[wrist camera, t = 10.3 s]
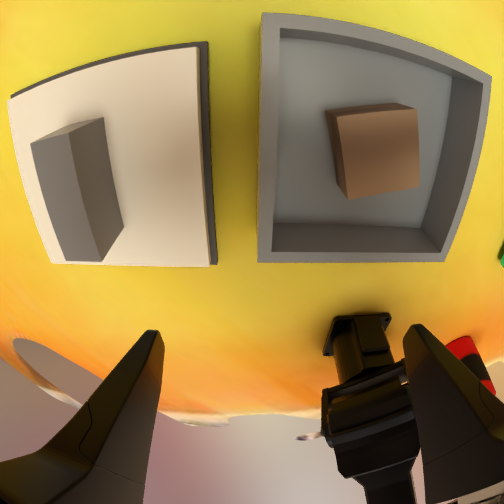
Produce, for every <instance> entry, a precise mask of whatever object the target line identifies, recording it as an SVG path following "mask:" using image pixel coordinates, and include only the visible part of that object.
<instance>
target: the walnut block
mask: <svg viewBox="0 0 504 504" xmlns="http://www.w3.org/2000/svg"><path fill="white" fill-rule="evenodd" d="M325 113H326V118H327V124H328V129H329V135H330V141H331V147H332V153H333V160H334V167H335V174H336V181H337V185H338V186H339V188H340V189H341V191H342V192H343V194H344V195H345V197H346V198H347V200H350V199H356V198H361V197H366V196H371V195H377V194H382V193H388V192H393V191H399V190H405V189H410V188H416V187H419V178H420V160H419V131H418V117H417V109H415V108H412V107H409V106H406V105H403V104H400V103H386V104H374V105H364V106H355V107H346V108H339V109H332V110H325Z"/></svg>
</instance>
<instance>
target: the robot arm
mask: <svg viewBox="0 0 504 504" xmlns="http://www.w3.org/2000/svg"><path fill="white" fill-rule="evenodd" d="M390 321H391V315H390V314H375V315H361V316H344V317H336V318H335V319H334V320H333V323H332V326H331V329H330V332H329V335H328V338H327V340H326V343H325V346H324V349H323V355H324V356H334V359H335V363H336V368H337V373H338V378H339V383H340V385H337V386H334V387H331V388H325V389H323V390H322V398H321V401H322V408H321V421H322V422H321V435H322V436H324V437H325V438H326V441H327V443H328V445H329V446H330V447H331V448H334V451H335V455H336V460H337V466H338V471H339V472H340V473H341V475H343V477H344V478H346V479H347V478H351V477H352V478H353V479H355V480H356V481H357V482H358V483H359V484H361V485H362V486H363V487H364V491H365V496H366V501H367V504H417V499H416V493H415V487H414V482H413V477H412V471H411V469H412V467H413V464H414V462H415V459H416V457H417V456H418V454H419V450H420V447H421V454H422V462H423V473H424V485H425V501H426V504H437V503H441V502H444V501H448V500H452V499H455V498H457V499H456V500H454V501H452V502H450V503H448V504H504V404H503V403H502V402H501V401H500V400H499V399H498V398H497V397H496V396H495V395H494V394H493V393H492V392H491V391H490V390H489V389H488V388H487V387H486V386H485V385H484V384H483V383H482V382H481V381H479V379H478V378H477V377H476V376H475V375H474V374H473V373H472V372H471V371H470V370H469V369H468V368H467V367H466V366H465V365H464V364H463V363H462V362H461V361H460V360H459V359H458V358H457V357H456V356H455V355H454V354H453V353H452V352H451V351H450V350H449V349H448V348H447V347H446V346H445V345H443V344H442V343H441V342H440V341H439V340H438V339H437V338H436V337H435V336H434V335H433V334H432V333H431V332H430V331H429V330H428V329H426V328H425V327H424V326H423V325H422V324H413V325H411V326H410V328H409V329H408V331H407V333H406V334H405V336H404V338H403V349H404V355H405V358H403V359H401V361H398V362H396V363H395V362H394V359H393V356H392V353H391V350H390V345H389V342H388V340H387V337H386V334H385V330H386V328H387V326H388V325H389V323H390ZM164 352H165V346H164V342H163V340H162V337H161V335H160V332H159V331H158V330H147V331H145V333H144V334H143V335H142V336H141V337H140V338H139V340H138V341H137V342H136V343H135V344H134V345H133V346H132V348H131V349H130V350H129V351H128V352H127V353H126V355H125V356H124V357H123V358H122V359H121V361H120V362H119V363H118V364H117V365H116V366H115V368H114V369H113V370H112V371H111V372H110V374H109V375H108V376H107V377H106V378H105V380H104V381H103V382H102V383H101V384H100V385H99V387H98V388H97V389H96V390H95V392H94V393H93V394H92V395H91V396H90V398H89V399H88V401H86V402H85V404H84V405H83V406H82V407H81V408H80V410H79V411H78V412H77V413H76V414H75V415H74V417H73V418H72V419H71V420H70V421H69V422H68V423H67V424H66V425H65V426H64V427H63V428H62V429H61V430H60V431H59V432H58V433H57V434H56V435H55V436H54V437H53V438H52V439H51V440H50V441H49V442H48V443H47V444H46V445H44V446H43V447H42V448H41V449H39V450H38V451H36V452H34V453H31V454H28V455H25V456H22V457H18V458H14V459H11V460H7V461H3V462H0V504H143V496H144V489H145V485H144V484H145V480H146V473H147V466H148V459H149V453H150V446H151V441H152V434H153V429H154V424H155V418H156V413H157V407H158V402H159V397H160V392H161V384H162V373H163V362H164ZM406 381H407V383H405V384H403V385H401V384H402V383H404V382H406Z"/></svg>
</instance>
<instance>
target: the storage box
mask: <svg viewBox="0 0 504 504" xmlns="http://www.w3.org/2000/svg"><path fill="white" fill-rule="evenodd" d="M491 81H492V76H490V75H488V74H487V73H485V72H483V71H481V70H479V69H478V68H476V67H474V66H472V65H470V64H468V63H466V62H464V61H462V60H460V59H458V58H456V57H453V56H451V55H449V54H447V53H445V52H442V51H440V50H438V49H435V48H433V47H430V46H428V45H425V44H422V43H420V42H417V41H414V40H411V39H408V38H405V37H402V36H399V35H396V34H393V33H390V32H386V31H383V30H379V29H375V28H371V27H367V26H363V25H359V24H354V23H349V22H344V21H339V20H333V19H327V18H321V17H313V16H305V15H296V14H283V13H262V17H261V22H260V53H259V123H258V181H257V260H258V262H260V263H360V262H444V261H445V259H446V256H447V254H448V252H449V249H450V247H451V245H452V242H453V240H454V237H455V235H456V232H457V229H458V227H459V224H460V221H461V218H462V216H463V213H464V210H465V207H466V204H467V201H468V198H469V194H470V191H471V188H472V184H473V181H474V177H475V174H476V170H477V166H478V162H479V158H480V153H481V149H482V144H483V139H484V134H485V129H486V123H487V116H488V109H489V102H490V92H491ZM386 103H400V104H403V105H406V106H409V107H412V108H415V109H417V117H418V131H419V160H420V178H419V187H416V188H410V189H405V190H399V191H393V192H388V193H382V194H377V195H371V196H366V197H361V198H356V199H350V200H347V198H346V197H345V195H344V194H343V192H342V191H341V189H340V188H339V186H338V185H337V181H336V174H335V167H334V160H333V153H332V147H331V141H330V135H329V129H328V124H327V118H326V113H325V110H332V109H339V108H346V107H355V106H364V105H374V104H386Z"/></svg>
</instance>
